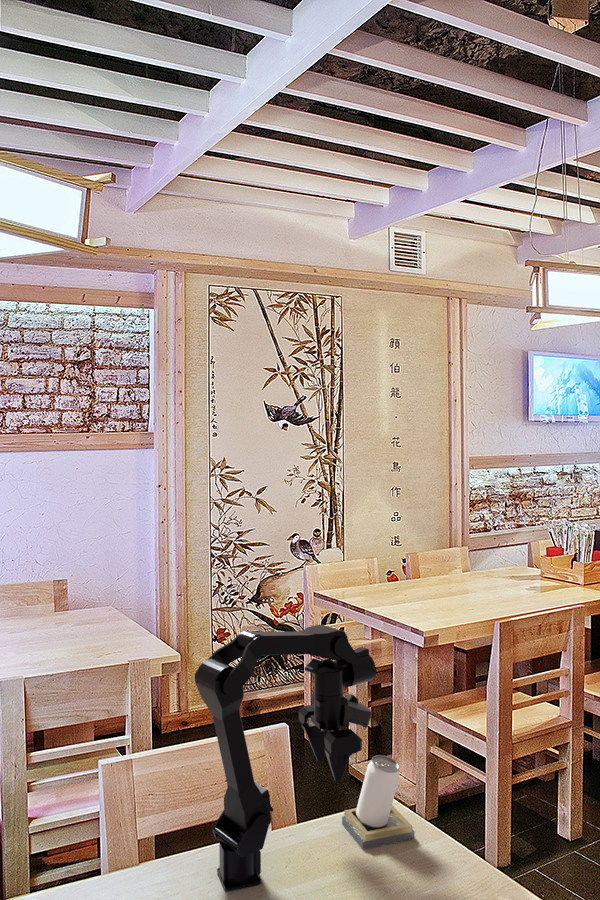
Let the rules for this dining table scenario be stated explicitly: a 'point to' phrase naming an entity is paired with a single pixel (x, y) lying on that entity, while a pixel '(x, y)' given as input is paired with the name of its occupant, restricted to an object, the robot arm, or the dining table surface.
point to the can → (378, 791)
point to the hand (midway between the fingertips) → (329, 771)
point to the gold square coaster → (378, 830)
